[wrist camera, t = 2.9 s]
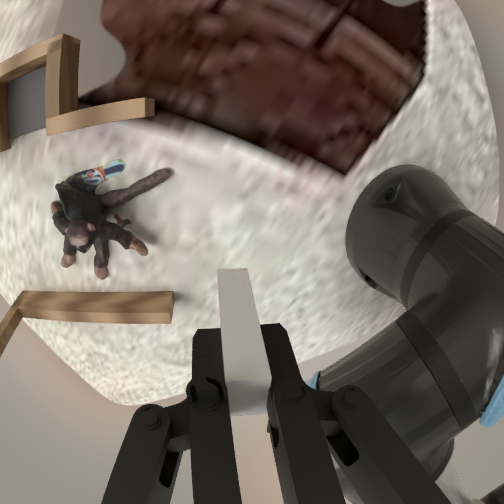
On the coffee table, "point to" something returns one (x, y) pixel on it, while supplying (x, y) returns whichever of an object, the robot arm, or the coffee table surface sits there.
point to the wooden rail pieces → (57, 121)
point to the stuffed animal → (97, 213)
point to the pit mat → (27, 103)
